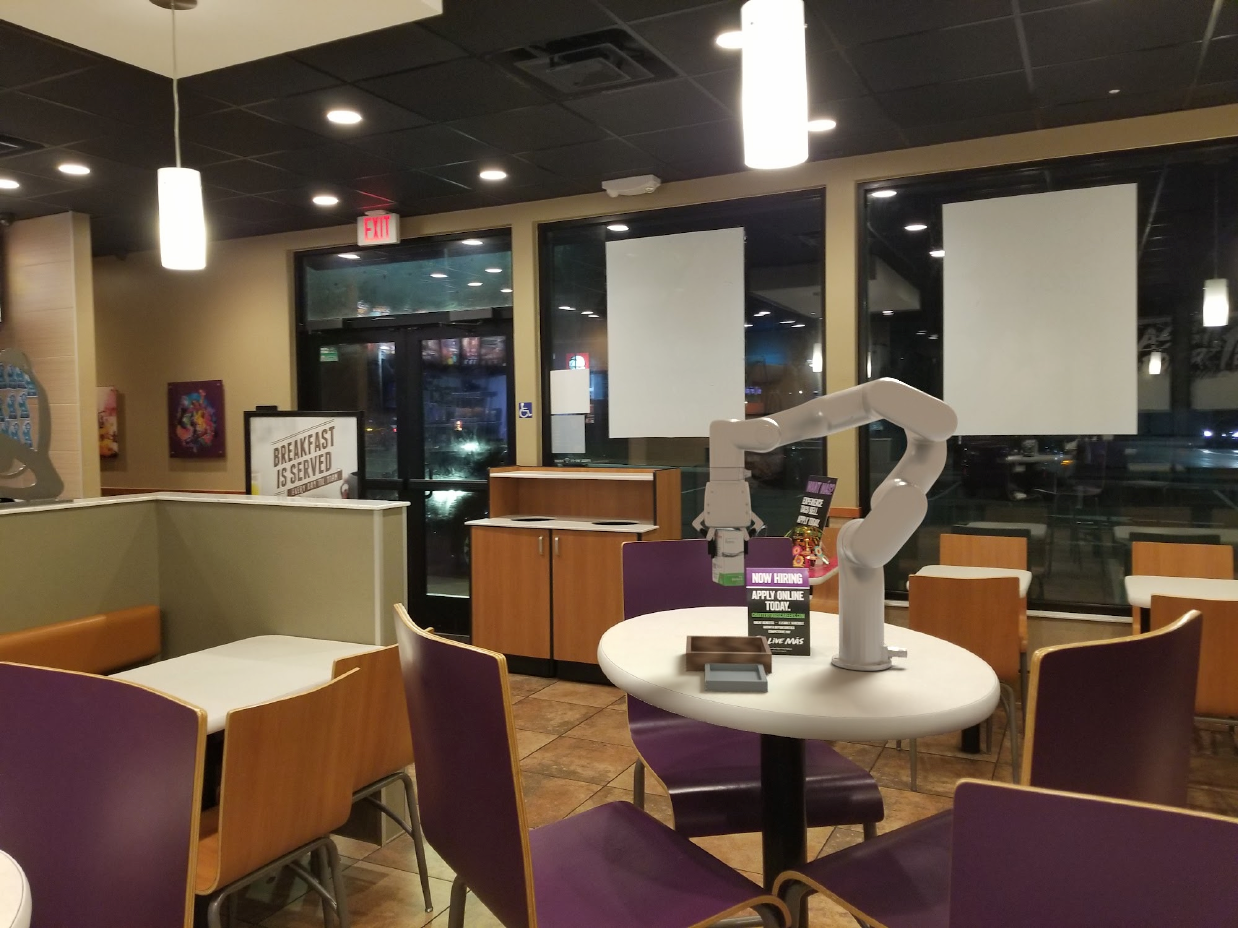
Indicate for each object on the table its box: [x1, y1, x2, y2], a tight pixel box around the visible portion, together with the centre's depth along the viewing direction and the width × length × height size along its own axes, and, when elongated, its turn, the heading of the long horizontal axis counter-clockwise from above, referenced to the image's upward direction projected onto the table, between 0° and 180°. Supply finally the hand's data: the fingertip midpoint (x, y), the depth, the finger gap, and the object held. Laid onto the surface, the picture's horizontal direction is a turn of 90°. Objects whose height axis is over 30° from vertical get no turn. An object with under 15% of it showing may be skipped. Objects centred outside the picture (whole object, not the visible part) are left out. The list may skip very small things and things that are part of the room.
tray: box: [704, 663, 769, 693], centre depth 177 cm, size 12×14×2 cm
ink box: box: [711, 528, 745, 587], centre depth 191 cm, size 9×5×12 cm, turn 11°
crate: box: [685, 635, 773, 674], centre depth 193 cm, size 18×17×4 cm
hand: (728, 557), depth 191 cm, fingers closed on ink box, 6 cm apart
